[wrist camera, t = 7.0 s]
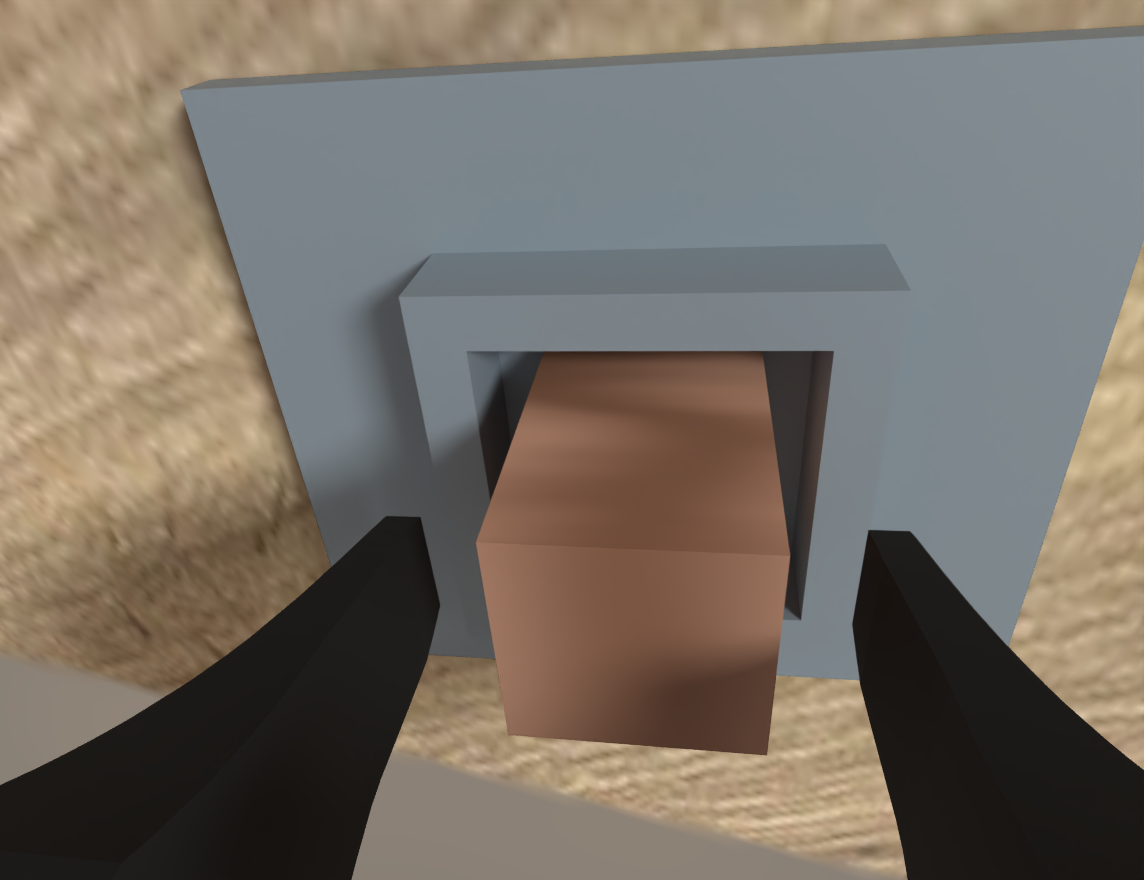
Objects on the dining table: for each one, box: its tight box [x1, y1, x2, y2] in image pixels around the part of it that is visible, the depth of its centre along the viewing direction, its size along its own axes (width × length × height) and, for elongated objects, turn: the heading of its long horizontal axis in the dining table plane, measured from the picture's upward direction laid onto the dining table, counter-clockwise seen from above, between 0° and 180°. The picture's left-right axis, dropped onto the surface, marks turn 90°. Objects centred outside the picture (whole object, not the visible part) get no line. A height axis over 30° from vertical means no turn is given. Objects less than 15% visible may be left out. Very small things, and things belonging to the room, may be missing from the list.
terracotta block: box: [476, 351, 790, 755], centre depth 14 cm, size 4×4×6 cm
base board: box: [180, 26, 1144, 680], centre depth 16 cm, size 16×14×3 cm
